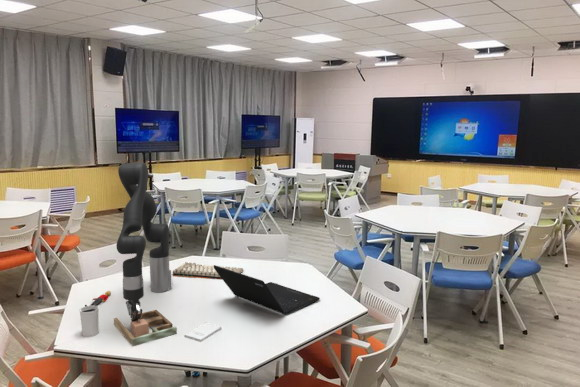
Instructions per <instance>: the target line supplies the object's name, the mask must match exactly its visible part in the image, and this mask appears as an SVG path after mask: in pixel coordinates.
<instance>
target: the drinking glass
mask: <svg viewBox="0 0 580 387" xmlns="http://www.w3.org/2000/svg"><path fill="white" fill-rule="evenodd" d="M79 316H80V324H81V325H80V326H81V332H82V336H83V337H86V338H89V337H93V336H96V335H98V334H99V331H100V330H99V329H100V328H99V324H100V322H99V316H100V315H99V306H97V305H96V306H94V305H92V306H90V305H87V306H86V307H85V306H83V307H81V308H80V309H79Z"/></svg>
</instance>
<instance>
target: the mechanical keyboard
mask: <svg viewBox="0 0 580 387" xmlns="http://www.w3.org/2000/svg"><path fill="white" fill-rule="evenodd" d="M218 266H219V267H222V268H225V269H228V270H231V271H234V272H237V273H240V274H241V273H242V274H243V272H244V268H242V267H233V266H232V267H230V266H223V265H222V266H221V265H218ZM171 276H172V277H177V278H189V279H190V278H191V279H207V280H222V281H223V279H222V278H221V277H220V275H219V274H218V273H217V271H216V270H215V269H214V265H212V264H211V265H210V264H197V263H196V262H187V261H185V262H184V263H183V264H181V265H180V266H178V267H176V268H175V269H173V270H172V271H171Z"/></svg>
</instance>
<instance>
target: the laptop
mask: <svg viewBox="0 0 580 387" xmlns="http://www.w3.org/2000/svg"><path fill="white" fill-rule="evenodd" d="M213 266H214V269H215V270H216V271H217V273H218V274H219V275H220V277H221V278H222V281H223V283H225V285H226V286H227V288H229V290H230V291H231V293H232V294H233V295H234V296H235V297H237V298H240V299H243V300H246V301H249V302H251V303H254V304H257V305H260V306H262V307H264V308H267V309H270V310H273V311H276V312H278V313H280V314H282V315H288V314H290V313H293V312H296V311H297V310H299V309H302V308H304V307H306V306H309V305H311V304H313V303H316V302H317V301H319V300H320V299H321V297H318V296H315V295H313V294H309V293H306V292H303V291H300V290H298V289H297V290H296V289H295V288H294V289H293V288H291V287H288V286H285V285H281V284H278V283H276V282H273V281H272V282H271V281H270V282H267V283H265V281H264V280H261V279H259V278H256V277H252V276H250V275H246V274H244V273H242V274H240V273H237V272H234V271H231V270H228V269H225V267H224V268H222V267H219V266H220V265H213Z"/></svg>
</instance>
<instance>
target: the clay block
mask: <svg viewBox="0 0 580 387" xmlns="http://www.w3.org/2000/svg"><path fill="white" fill-rule="evenodd" d="M130 324H131V325H130V328H131V329H130V330H131V332H130V333H131V334H132V335H133V336H134V338H135V337H139V336H142V335H146V334H150V328H149V325H148V322H147V321H146V320H145V319H141V320H137V321H133V322H130Z"/></svg>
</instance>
